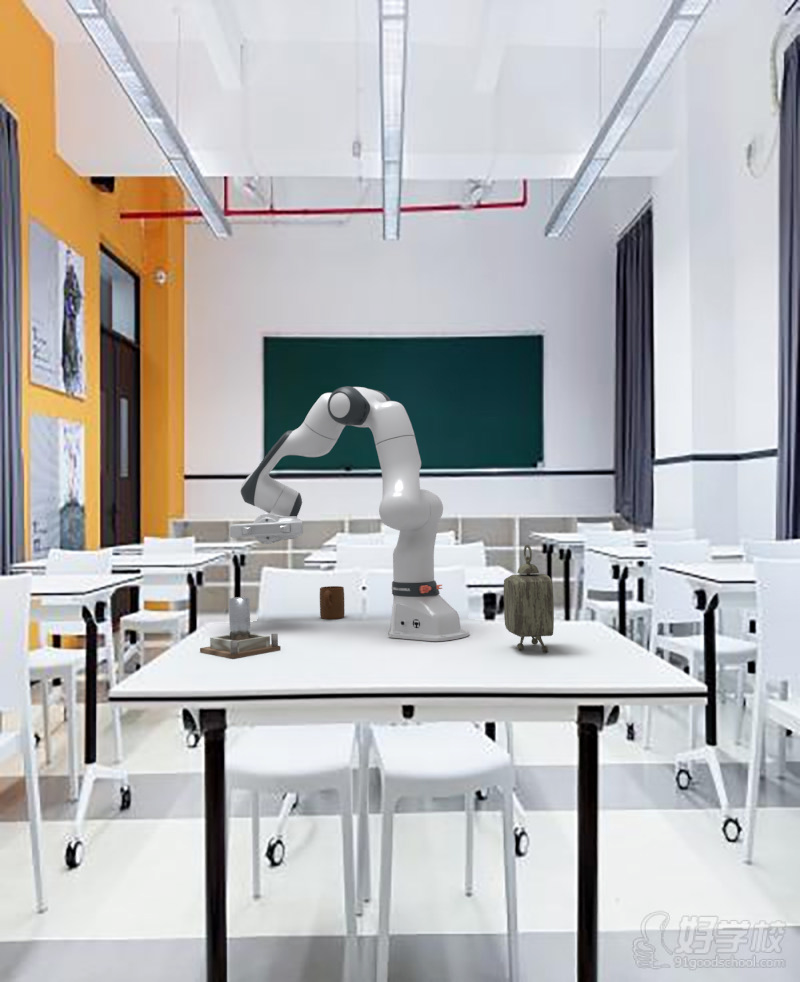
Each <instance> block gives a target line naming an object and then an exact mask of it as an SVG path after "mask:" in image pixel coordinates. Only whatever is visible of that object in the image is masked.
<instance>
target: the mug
mask: <svg viewBox="0 0 800 982" xmlns="http://www.w3.org/2000/svg"><path fill="white" fill-rule="evenodd" d="M319 613H320V614H319V616H320V618H321V619H323V620H339V619H343V618H345V588H344V586H340V585H336V586H335V585H334V586H333V585H330V586H328V585H327V586H321V587H319Z"/></svg>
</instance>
